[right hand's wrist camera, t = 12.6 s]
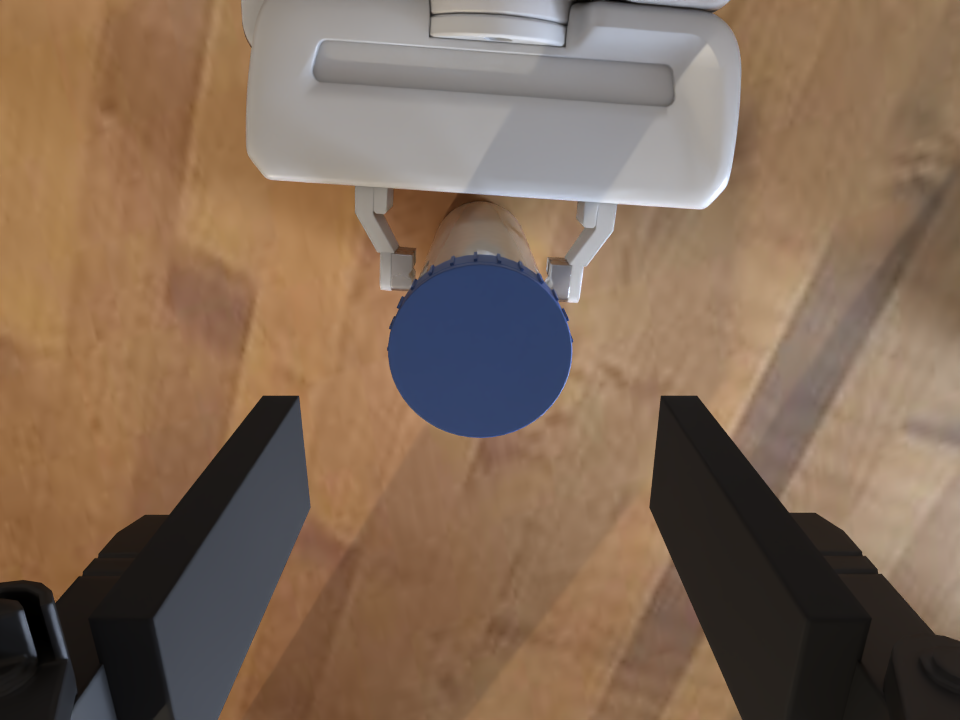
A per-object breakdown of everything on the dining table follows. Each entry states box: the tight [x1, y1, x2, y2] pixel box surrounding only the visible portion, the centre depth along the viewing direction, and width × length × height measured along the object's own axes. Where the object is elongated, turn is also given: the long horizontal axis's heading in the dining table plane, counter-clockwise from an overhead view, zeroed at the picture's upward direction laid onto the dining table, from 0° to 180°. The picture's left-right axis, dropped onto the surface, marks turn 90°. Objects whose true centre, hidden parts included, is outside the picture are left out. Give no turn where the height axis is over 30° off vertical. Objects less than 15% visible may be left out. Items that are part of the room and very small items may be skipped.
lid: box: [387, 252, 573, 438], centre depth 21 cm, size 6×6×2 cm
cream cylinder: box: [418, 201, 539, 279], centre depth 29 cm, size 5×5×17 cm
